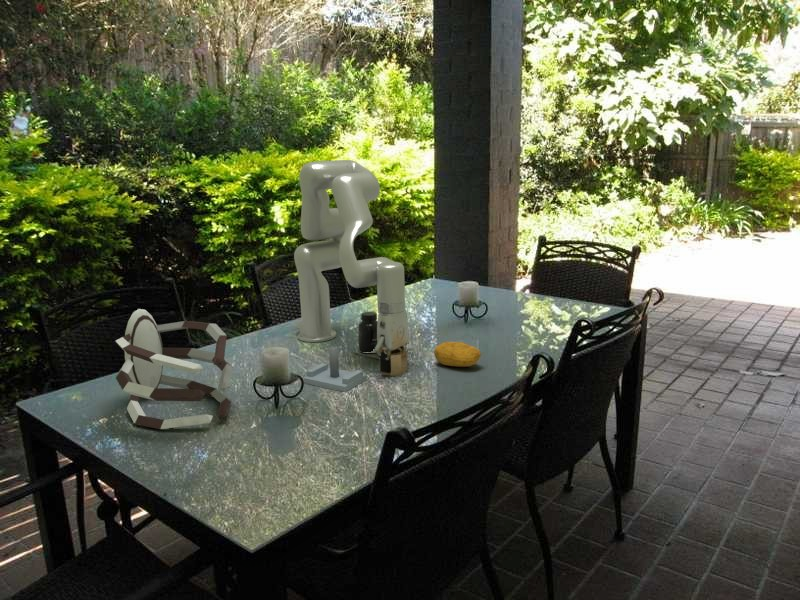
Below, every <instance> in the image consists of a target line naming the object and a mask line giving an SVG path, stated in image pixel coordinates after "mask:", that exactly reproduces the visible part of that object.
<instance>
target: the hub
mask: <svg viewBox="0 0 800 600" xmlns="http://www.w3.org/2000/svg"><path fill="white" fill-rule="evenodd" d="M407 352H408V351H407V349H406V350H405V349H404V348H400V347H399V348H397V349H395V350H393V351H392V350H391V353H390V357H389V359H391V373H385V372H381V371H380V370H379V372H380V373H381V375H383V376H387V377H388V376H389V377H396V376H402V375H404V374H405V373H407V372H408V357H407V355H408V354H407ZM384 353H385V354H386V353H387V351H386V350H384Z"/></svg>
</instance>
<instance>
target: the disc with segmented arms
mask: <svg viewBox="0 0 800 600" xmlns="http://www.w3.org/2000/svg"><path fill="white" fill-rule="evenodd" d="M184 329H193V330H194V329H195V330H201V331H202V330H203V331H206V332H207V333H208V334H209V336H211V337H212V339H213V340H214V341H215V342H216V343H215V349H214V350H215V352H213V351H208V350H204V349H198V348H195V347H194V348H193V347H163V342H162V337H161V334H160V333H165V332H171V331H172V332H173V331H177V330H178V331H179V330H184ZM124 332H125V333H124V336H121V337H120V338H118V339H116V340H115V343H116V344H117V345H118V346H119V347H120V348H121V349H122V350H123V351H124V360H125V361H124V363H123V365H122V367H121V368H120V370H119V371H118V372H117V374H116V376H115V380H116V381H117V383H118V385H119V386H120V389H121V390H122V391H123V392H125V393H127V394H129V395H130V397H129V400H128V403H127V406H126V410H127V412H128V414H129V416H130V418H131V420H132V421H133V424H134V423H136V424H135V425H137V424H140V425H139V426H142V425H143V426H142V427H147V428H151V429H152V428H153V429H158V430H170V429H169V428H174V429H179V428H180V429H181V428H187V427H193V426H194V427H195V426H196V427H197V426H203V425H210V423H211V422H212V419H213V417H214V415H212V414H211V415H210V414H206V413H205V414H198V415H192V416H190V415H189V416H183V417H176V418H169V419H162V418H157V417H151V416H147V415H146V413H145V412H144V410H143V409H142V407H141V405H140V403H139V399H140V397H141V398H143V399H148V400H152V401H155V402H157V401H158V402H201V401H202V400H203V398H204V397H205V396H207V395H209V396H208V397H210V396H213V397H214V399H215V400H216V401H217V402H218V403H219V402H220V403H219V406H218V409H217V413H216V416H217V417H218V419H220V420H222V419H223V418H224V417H226V416H227V415H228V413H229V410H230V406H231V400H229V399H228V397H226V395H225V394H224V393H225V391H226V390H227V389H228V387H229V385H230V382H231V377H232V373H233V367H232V365H231V364H230V363H228V362H227V360H226V359H225V355H226V354H225V353H226V345H227V336H228V335H227V334H226V333H225V332H224V331H223V330H222V329H221V327H219V325H218V324H217V323H212V322H200V321H193V320H192V321H191V320H189V321H188V320H183V321H177V322H170V323H164V324H157V323H156V321H155V319H154V318H153V315H151V313H149V312H148V311H147V310H146V309H143V308H142V309H141V308H137V310H134V311H133V312H132V314H131V316H130V318H129V319H128V321H127V325H126V328H125V331H124ZM189 360H195V361H199V362H200V361H201V362H205V363H210V364H213V366H216V367H218V369H219V370H220V371H221V373H220V378H219V383H218V387H217V388H216V387H213V386H210V385H207V384H204V383H201V382H199V381H196V380H195V381H194V380H191V379H186V378H180V377H176V376H171V375H166V374H163V370H164V367H166V368H171V369H175V370H179V371H181V372H186V373H190V374H195V375H199V374H201V373H202V372H203V371H204V368H203V366H202V364H200V363H195V362H191V361H189ZM160 385H163V386H169V387H170V388H167V387H166V388H163V387H162V388H161V387H160V388H159V386H160ZM171 387H175V388H171ZM222 392H223V393H222ZM213 397H212V398H213Z"/></svg>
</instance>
